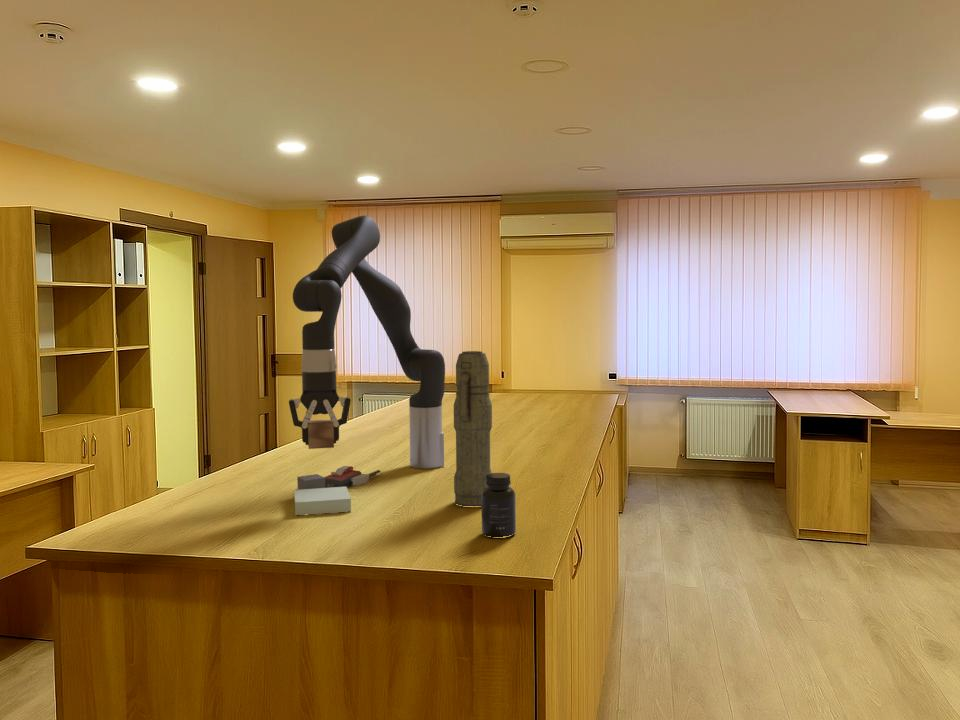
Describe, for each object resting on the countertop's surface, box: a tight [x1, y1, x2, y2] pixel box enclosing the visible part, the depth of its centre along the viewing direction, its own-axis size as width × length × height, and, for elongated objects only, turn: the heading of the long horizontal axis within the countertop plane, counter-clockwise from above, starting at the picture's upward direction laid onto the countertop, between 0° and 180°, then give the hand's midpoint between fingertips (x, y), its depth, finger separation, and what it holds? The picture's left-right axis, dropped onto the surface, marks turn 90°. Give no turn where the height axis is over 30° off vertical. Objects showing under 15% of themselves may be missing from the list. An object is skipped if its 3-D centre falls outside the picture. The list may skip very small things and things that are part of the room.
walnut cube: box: [307, 419, 335, 450], centre depth 174 cm, size 6×6×6 cm
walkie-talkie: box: [324, 465, 381, 488], centre depth 199 cm, size 9×4×20 cm
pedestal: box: [294, 487, 352, 516], centre depth 175 cm, size 12×12×3 cm
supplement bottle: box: [480, 472, 517, 537], centre depth 152 cm, size 7×7×12 cm
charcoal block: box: [296, 473, 326, 490], centre depth 184 cm, size 5×5×5 cm
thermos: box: [453, 350, 493, 506], centre depth 176 cm, size 9×12×35 cm
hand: (320, 443), depth 174 cm, fingers closed on walnut cube, 5 cm apart
